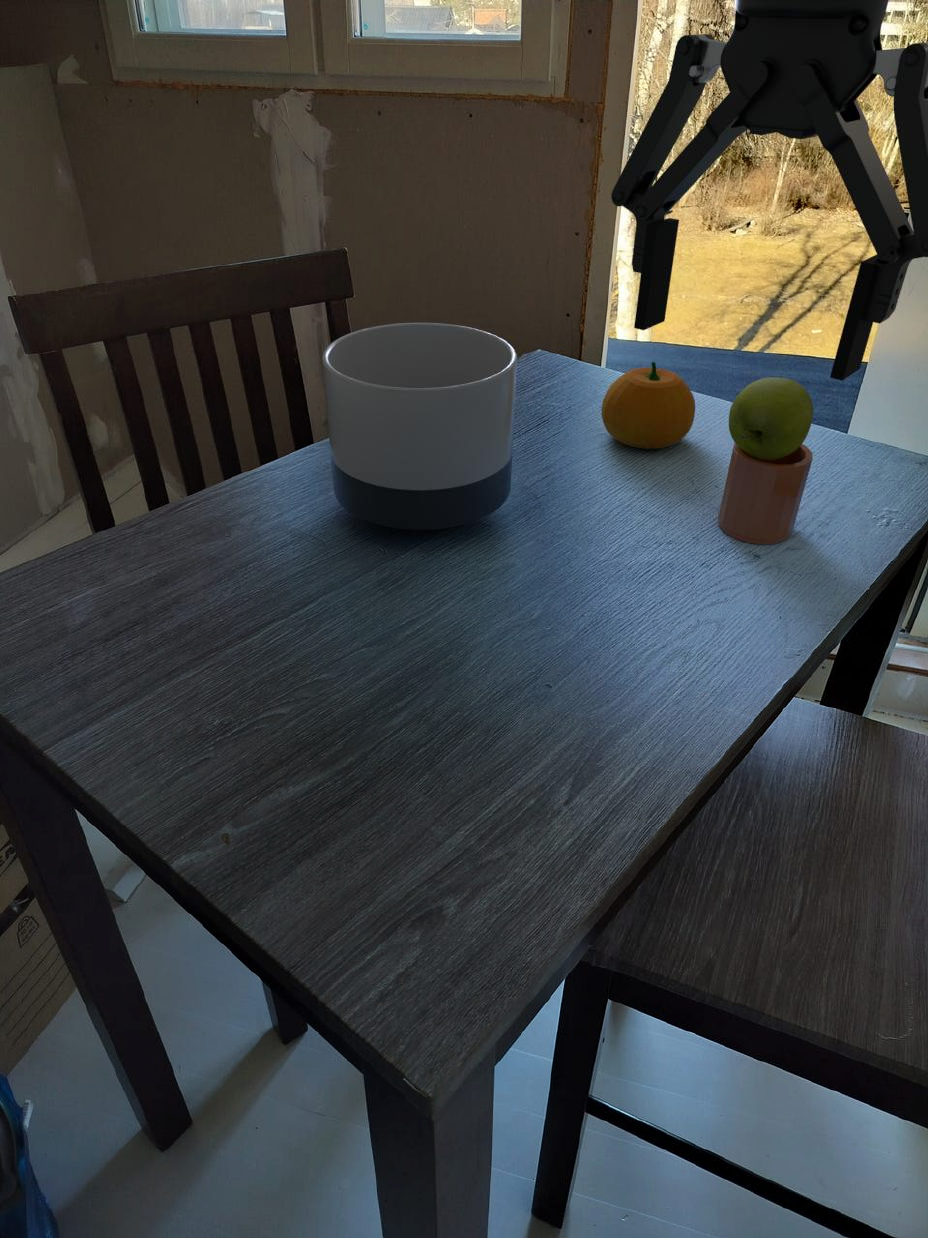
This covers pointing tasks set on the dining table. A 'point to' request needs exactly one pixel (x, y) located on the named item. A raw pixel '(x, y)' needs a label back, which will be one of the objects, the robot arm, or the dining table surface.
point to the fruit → (648, 408)
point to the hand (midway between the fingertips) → (740, 347)
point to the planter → (420, 423)
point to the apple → (771, 418)
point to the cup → (763, 496)
